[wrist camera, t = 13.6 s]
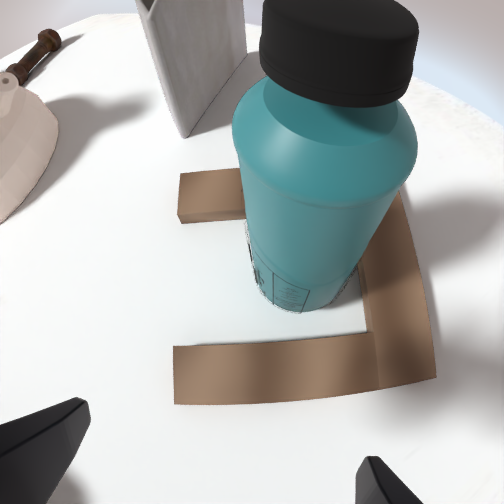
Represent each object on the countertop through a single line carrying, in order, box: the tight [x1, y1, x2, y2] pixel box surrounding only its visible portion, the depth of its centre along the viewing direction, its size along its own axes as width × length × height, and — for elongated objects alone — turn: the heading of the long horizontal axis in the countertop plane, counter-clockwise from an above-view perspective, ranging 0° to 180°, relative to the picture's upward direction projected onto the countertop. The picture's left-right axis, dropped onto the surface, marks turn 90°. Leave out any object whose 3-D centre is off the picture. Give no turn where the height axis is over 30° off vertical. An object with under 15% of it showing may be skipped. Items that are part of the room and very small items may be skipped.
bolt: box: [6, 29, 61, 86], centre depth 39 cm, size 6×5×15 cm
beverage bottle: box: [232, 0, 419, 313], centre depth 15 cm, size 6×7×20 cm
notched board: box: [173, 168, 437, 405], centre depth 23 cm, size 18×18×2 cm
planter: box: [135, 0, 247, 138], centre depth 25 cm, size 16×8×19 cm, turn 159°
